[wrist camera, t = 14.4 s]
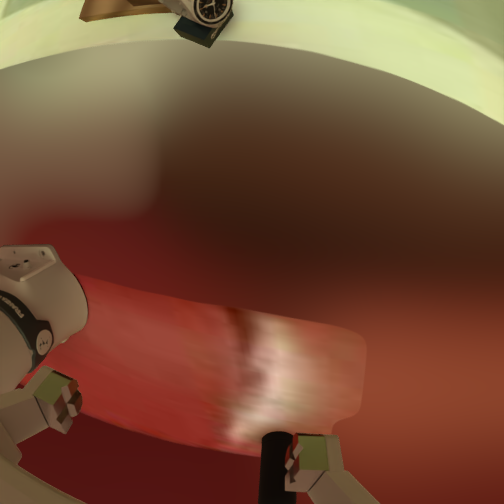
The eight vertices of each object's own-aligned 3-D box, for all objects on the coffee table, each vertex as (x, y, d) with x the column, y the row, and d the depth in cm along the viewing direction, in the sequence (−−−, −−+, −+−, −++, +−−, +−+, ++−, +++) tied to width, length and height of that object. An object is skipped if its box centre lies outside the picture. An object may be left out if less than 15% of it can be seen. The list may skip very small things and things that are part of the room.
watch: (223, 54, 30) (203, 19, 19) (169, 32, 29) (134, -2, 19) (247, 20, 28) (237, -24, 18) (193, -1, 27) (167, -42, 17)
